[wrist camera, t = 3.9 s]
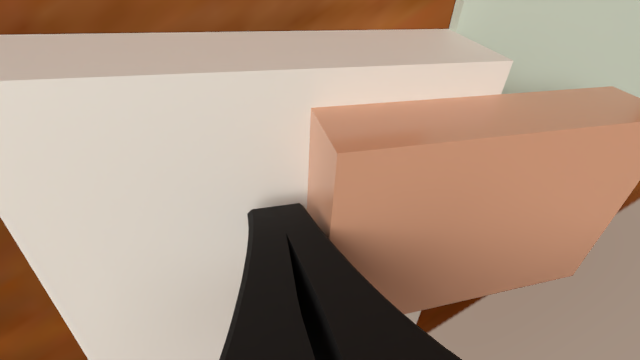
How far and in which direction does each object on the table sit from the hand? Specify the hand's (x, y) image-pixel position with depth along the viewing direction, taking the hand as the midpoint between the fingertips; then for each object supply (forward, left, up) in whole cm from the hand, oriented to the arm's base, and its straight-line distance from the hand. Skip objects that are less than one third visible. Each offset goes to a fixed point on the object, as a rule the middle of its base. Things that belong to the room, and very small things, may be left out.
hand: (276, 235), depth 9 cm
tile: (0, -6, -1) cm, 6 cm away
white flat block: (-3, 0, -4) cm, 5 cm away
